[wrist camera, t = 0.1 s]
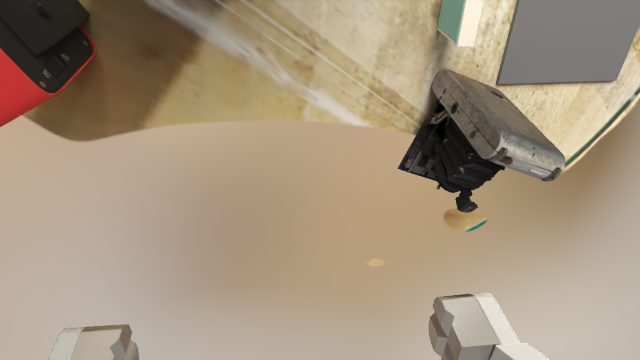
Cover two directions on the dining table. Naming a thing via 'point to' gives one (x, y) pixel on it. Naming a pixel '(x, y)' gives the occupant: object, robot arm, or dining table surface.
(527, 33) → the mat
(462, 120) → the vintage camera
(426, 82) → the dining table surface
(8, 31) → the alarm clock
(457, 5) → the box
